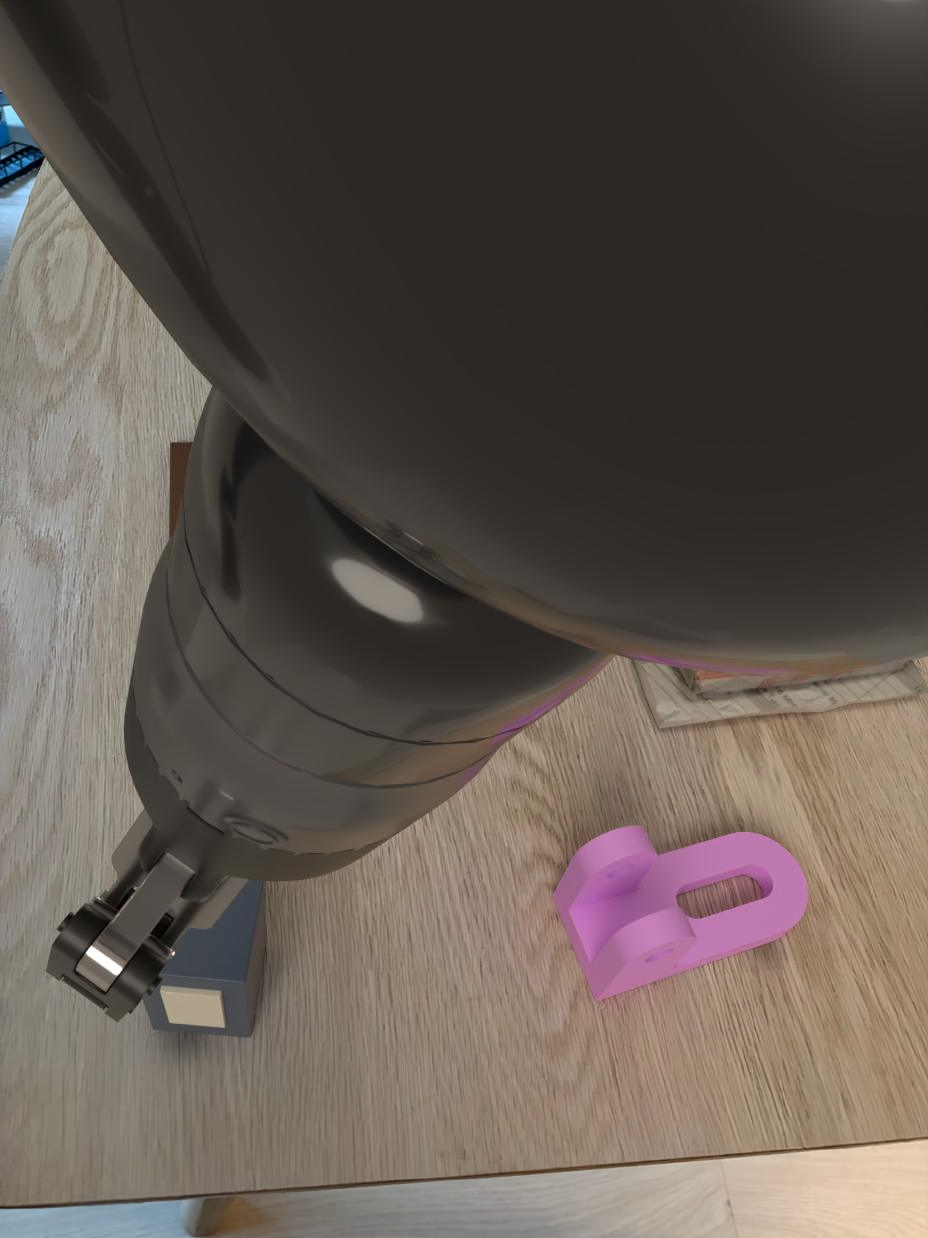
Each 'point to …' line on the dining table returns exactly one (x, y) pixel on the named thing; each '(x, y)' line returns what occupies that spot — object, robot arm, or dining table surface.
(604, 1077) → the dining table surface
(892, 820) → the dining table surface
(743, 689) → the packaged product
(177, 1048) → the dining table surface
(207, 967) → the navy box with label
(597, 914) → the bracket
